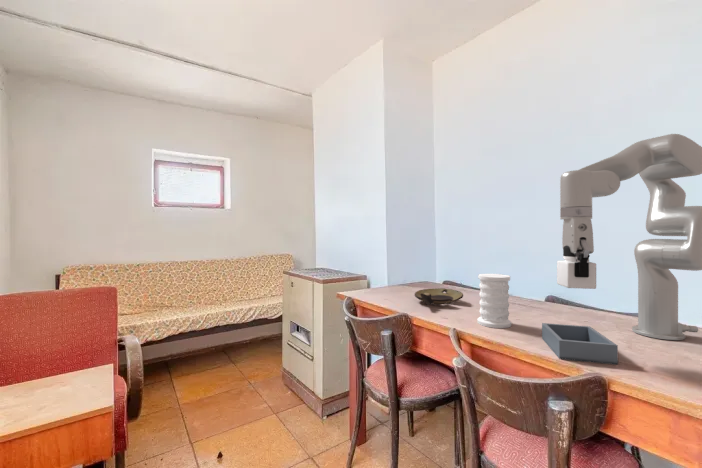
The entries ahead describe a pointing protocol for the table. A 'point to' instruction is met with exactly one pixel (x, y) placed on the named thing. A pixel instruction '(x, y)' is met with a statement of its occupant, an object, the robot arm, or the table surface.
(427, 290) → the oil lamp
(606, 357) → the bin
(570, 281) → the medicine bottle
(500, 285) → the decorative container
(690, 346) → the table surface
